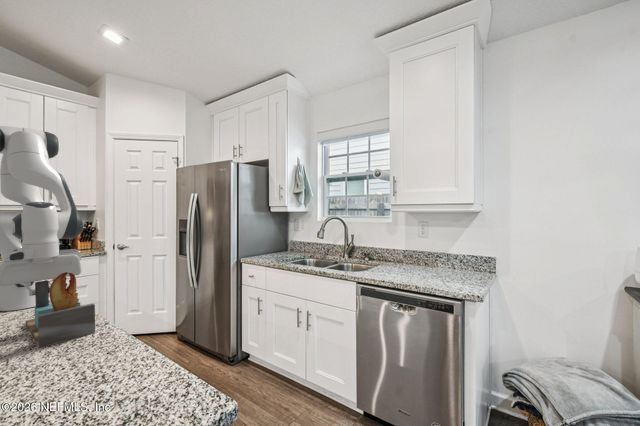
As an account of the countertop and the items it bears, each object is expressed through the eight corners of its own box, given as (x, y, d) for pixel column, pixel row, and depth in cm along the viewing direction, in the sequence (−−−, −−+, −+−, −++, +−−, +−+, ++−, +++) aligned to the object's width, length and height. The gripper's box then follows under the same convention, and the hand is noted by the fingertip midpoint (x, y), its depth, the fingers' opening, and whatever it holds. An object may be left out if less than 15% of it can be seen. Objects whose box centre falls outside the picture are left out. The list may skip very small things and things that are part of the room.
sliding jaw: (34, 324, 96) (33, 282, 96) (75, 315, 104) (74, 276, 104) (38, 330, 92) (37, 285, 92) (80, 320, 100) (79, 279, 100)
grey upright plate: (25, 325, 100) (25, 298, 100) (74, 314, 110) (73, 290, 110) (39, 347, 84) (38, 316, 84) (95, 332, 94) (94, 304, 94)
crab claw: (50, 341, 88) (49, 275, 87) (49, 336, 91) (48, 272, 91) (80, 334, 93) (79, 271, 92) (78, 329, 96) (76, 268, 96)
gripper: (78, 247, 106) (79, 285, 107) (-6, 254, 90) (-5, 299, 91) (83, 248, 102) (84, 288, 103) (-4, 256, 86) (-3, 303, 87)
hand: (42, 293), depth 96 cm, fingers closed on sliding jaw, 3 cm apart
